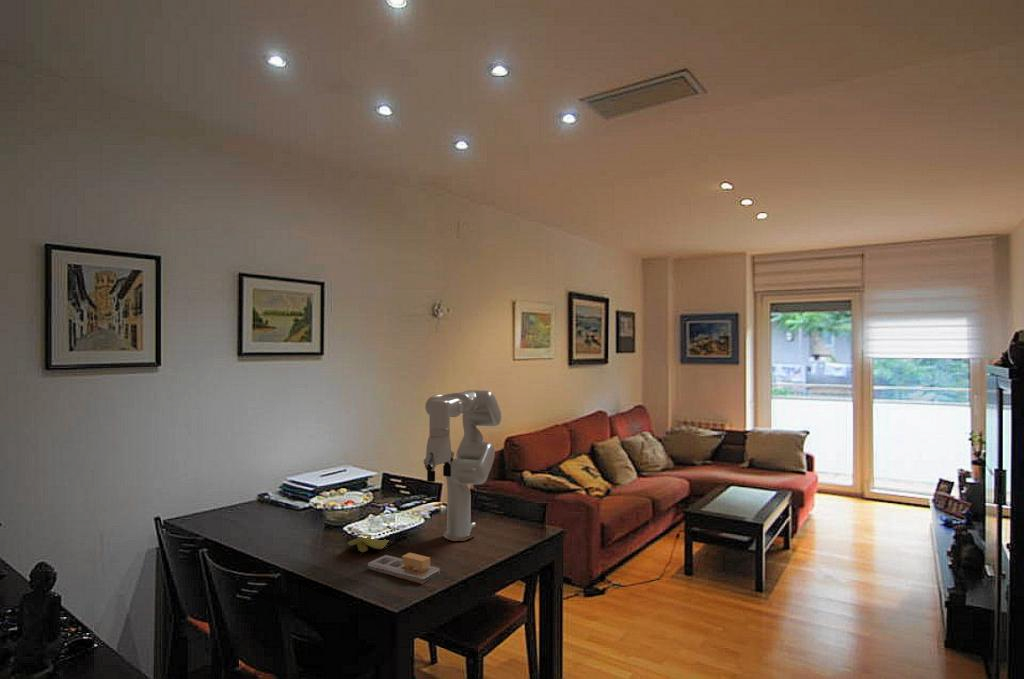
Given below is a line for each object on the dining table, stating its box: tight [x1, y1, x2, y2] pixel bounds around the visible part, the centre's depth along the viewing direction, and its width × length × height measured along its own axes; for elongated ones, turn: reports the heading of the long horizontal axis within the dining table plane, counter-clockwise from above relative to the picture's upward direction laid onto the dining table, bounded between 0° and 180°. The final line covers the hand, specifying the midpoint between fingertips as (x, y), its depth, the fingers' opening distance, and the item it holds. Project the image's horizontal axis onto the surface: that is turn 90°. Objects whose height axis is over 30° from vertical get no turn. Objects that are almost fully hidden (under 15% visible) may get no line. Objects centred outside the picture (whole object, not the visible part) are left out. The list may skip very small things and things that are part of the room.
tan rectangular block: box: [401, 552, 431, 574], centre depth 204 cm, size 4×9×6 cm, turn 59°
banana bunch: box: [347, 525, 392, 553], centre depth 231 cm, size 20×7×10 cm
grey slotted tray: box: [367, 554, 440, 579], centre depth 207 cm, size 9×24×2 cm, turn 60°
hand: (439, 478), depth 224 cm, fingers open, 9 cm apart
